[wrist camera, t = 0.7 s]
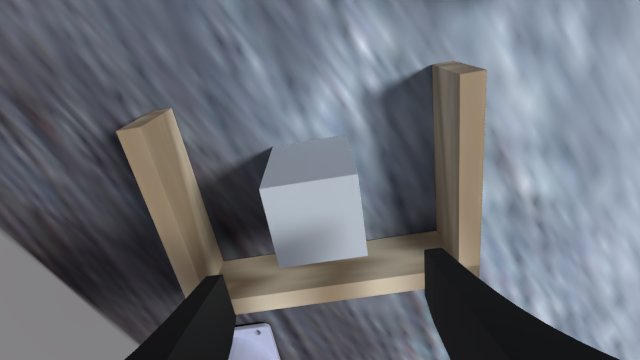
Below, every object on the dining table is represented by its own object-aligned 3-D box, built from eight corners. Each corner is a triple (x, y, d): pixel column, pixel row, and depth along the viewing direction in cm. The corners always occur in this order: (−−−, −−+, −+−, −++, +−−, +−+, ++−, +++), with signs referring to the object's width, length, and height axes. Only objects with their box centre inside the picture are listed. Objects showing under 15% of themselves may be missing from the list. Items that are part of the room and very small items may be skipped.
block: (287, 210, 23) (279, 268, 18) (272, 146, 21) (259, 189, 16) (354, 200, 23) (367, 255, 17) (346, 134, 21) (357, 173, 16)
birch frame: (211, 277, 25) (194, 320, 21) (151, 111, 20) (115, 131, 16) (454, 242, 24) (479, 281, 21) (454, 60, 19) (486, 69, 16)
